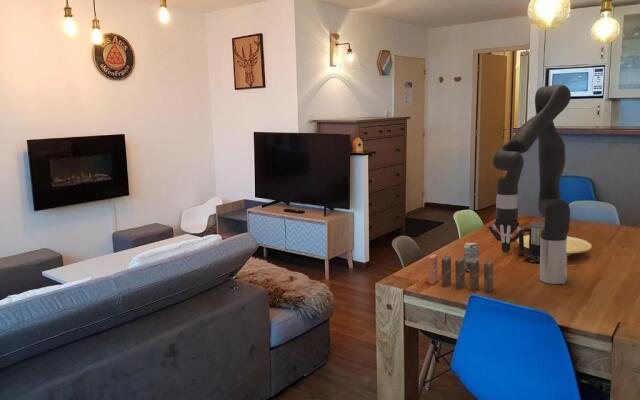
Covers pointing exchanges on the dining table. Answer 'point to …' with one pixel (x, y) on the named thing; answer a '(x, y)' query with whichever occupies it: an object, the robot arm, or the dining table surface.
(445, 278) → the tile
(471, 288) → the tile
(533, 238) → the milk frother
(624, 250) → the dining table surface
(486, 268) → the tile
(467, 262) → the beverage can
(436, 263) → the end tile
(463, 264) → the tile
